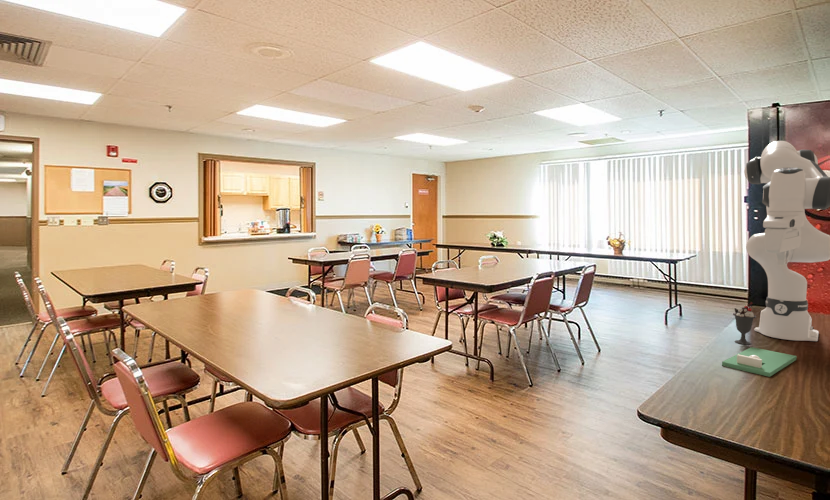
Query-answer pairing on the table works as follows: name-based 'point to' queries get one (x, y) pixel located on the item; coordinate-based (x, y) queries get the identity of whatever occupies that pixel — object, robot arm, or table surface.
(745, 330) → the sundae
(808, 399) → the table surface
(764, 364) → the green
